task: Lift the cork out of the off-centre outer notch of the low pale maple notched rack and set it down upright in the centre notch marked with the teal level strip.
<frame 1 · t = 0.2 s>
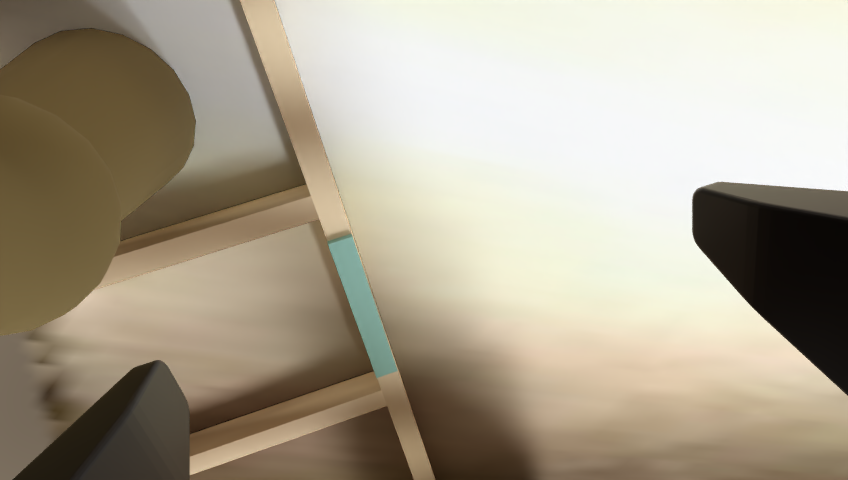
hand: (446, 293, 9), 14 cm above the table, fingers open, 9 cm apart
cork: (106, 117, 20), resting in notch rack
notch rack: (217, 337, 25), on the table
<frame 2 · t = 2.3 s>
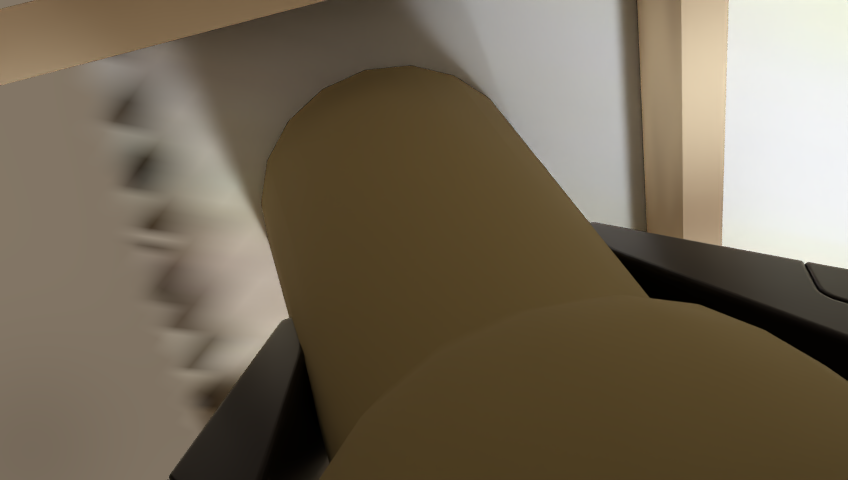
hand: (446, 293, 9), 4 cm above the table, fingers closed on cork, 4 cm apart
cork: (398, 200, 13), resting in notch rack, touching gripper
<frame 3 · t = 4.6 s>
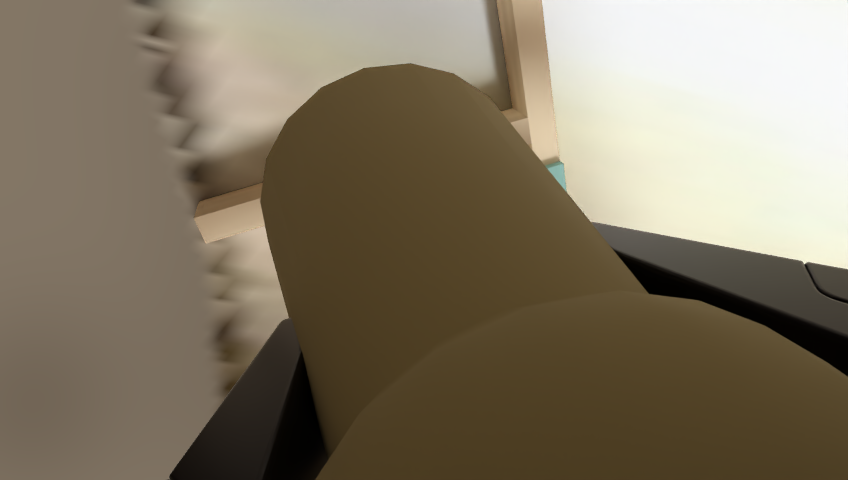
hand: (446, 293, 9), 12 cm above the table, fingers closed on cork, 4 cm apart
cork: (398, 199, 13), point 8 cm above the table, touching gripper
notch rack: (396, 276, 23), on the table
when the fingers open (5 cm above the table, at t = 7.3 s): cork drops 1 cm, resting in notch rack.
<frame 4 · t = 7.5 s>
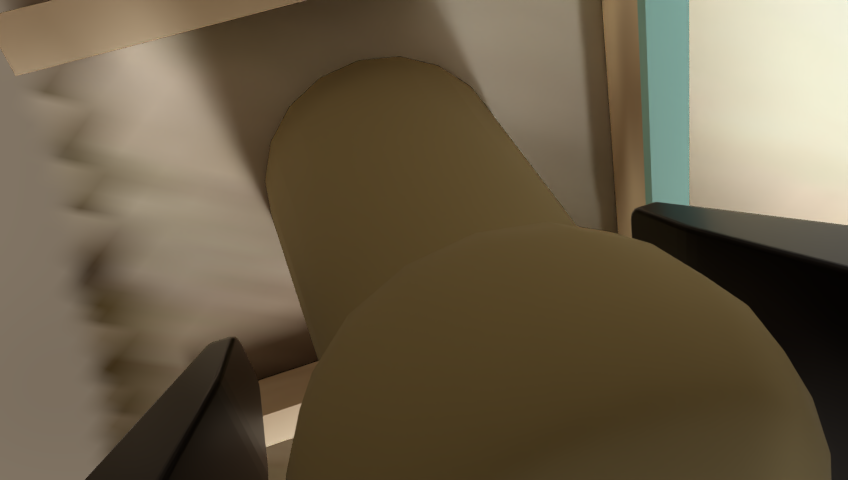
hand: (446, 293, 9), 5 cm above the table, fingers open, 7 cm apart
cork: (389, 180, 14), resting in notch rack
notch rack: (388, 182, 14), on the table
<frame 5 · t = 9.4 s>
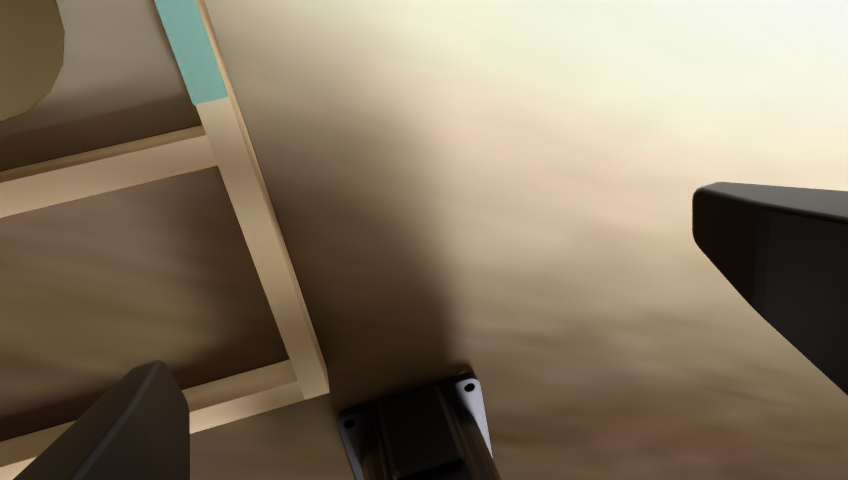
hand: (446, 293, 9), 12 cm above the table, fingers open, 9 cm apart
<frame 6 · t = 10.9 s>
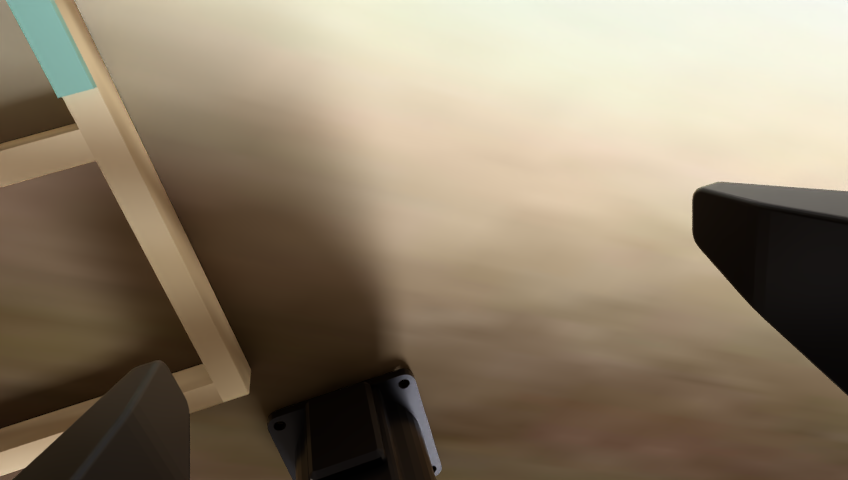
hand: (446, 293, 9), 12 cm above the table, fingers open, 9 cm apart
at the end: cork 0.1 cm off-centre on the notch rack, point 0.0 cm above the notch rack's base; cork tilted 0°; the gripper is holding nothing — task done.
